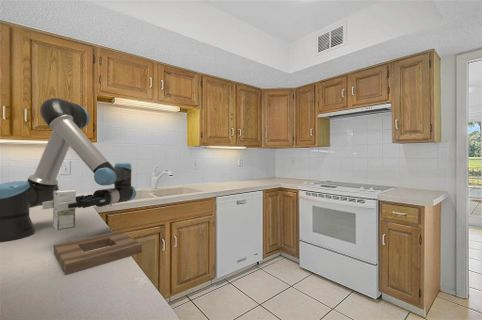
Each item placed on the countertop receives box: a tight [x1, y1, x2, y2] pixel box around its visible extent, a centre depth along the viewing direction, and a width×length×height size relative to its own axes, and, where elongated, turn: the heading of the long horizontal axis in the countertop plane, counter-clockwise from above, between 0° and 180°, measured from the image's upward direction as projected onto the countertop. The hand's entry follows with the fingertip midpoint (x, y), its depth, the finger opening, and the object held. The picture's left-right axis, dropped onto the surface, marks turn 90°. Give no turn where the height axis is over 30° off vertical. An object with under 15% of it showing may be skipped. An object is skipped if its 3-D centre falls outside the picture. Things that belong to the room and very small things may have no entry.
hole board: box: [53, 230, 143, 275], centre depth 82 cm, size 22×22×3 cm
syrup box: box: [52, 188, 77, 231], centre depth 89 cm, size 6×6×14 cm
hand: (50, 206), depth 84 cm, fingers closed on syrup box, 7 cm apart
